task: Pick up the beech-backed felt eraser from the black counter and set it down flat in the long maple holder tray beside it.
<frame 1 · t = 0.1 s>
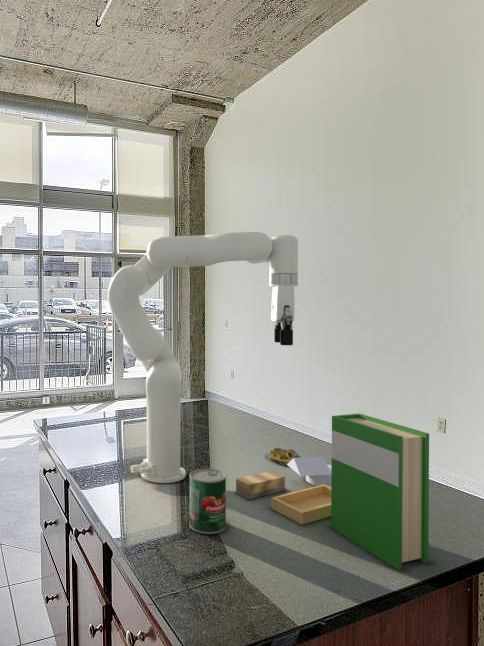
hand: (283, 343, 132), 37 cm above the countertop, tool pointing down, fingers open, 9 cm apart
canned tomato: (207, 526, 104), on the countertop
holder: (313, 508, 113), on the countertop
eraser: (260, 491, 123), on the countertop
wedge on round base: (316, 482, 131), on the countertop
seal: (284, 460, 149), on the countertop
hardback book: (376, 544, 97), on the countertop
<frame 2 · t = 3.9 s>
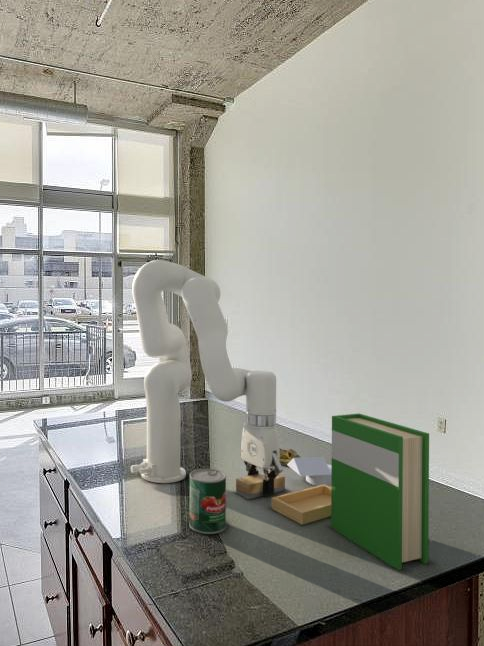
hand: (260, 489, 123), 0 cm above the countertop, tool pointing down, fingers closed on eraser, 5 cm apart
eraser: (260, 491, 123), on the countertop, touching gripper
everything else where it was.
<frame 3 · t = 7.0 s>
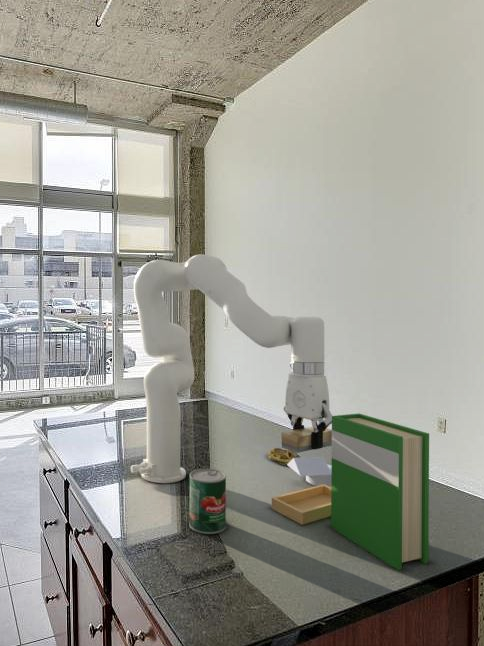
hand: (307, 444, 114), 15 cm above the countertop, tool pointing down, fingers closed on eraser, 5 cm apart
eraser: (307, 446, 114), point 14 cm above the countertop, touching gripper
everything else where it was.
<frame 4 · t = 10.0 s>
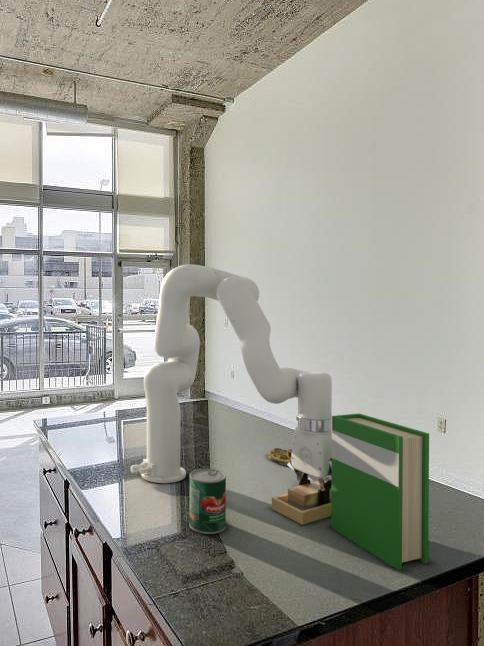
hand: (314, 500, 113), 2 cm above the countertop, tool pointing down, fingers closed on eraser, 5 cm apart
eraser: (314, 502, 113), point 1 cm above the countertop, touching gripper
everything else where it was.
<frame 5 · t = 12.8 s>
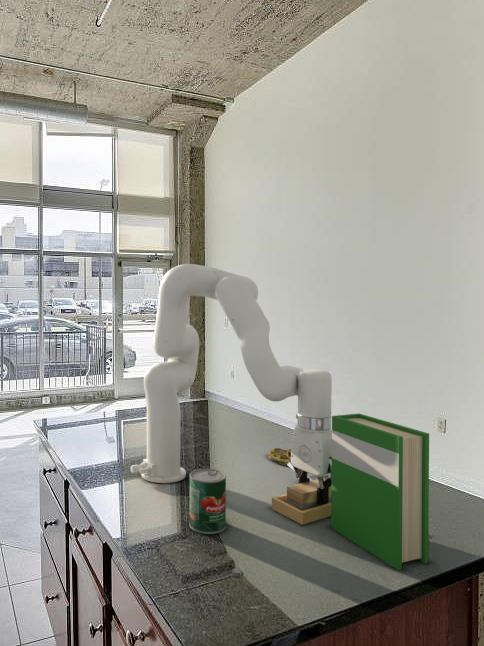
hand: (313, 498, 113), 2 cm above the countertop, tool pointing down, fingers closed on eraser, 5 cm apart
eraser: (313, 500, 113), point 2 cm above the countertop, touching gripper
everything else where it was.
when the fingers open (2 cm above the countertop, at t = 15.2 s): eraser drops 1 cm, resting on holder.
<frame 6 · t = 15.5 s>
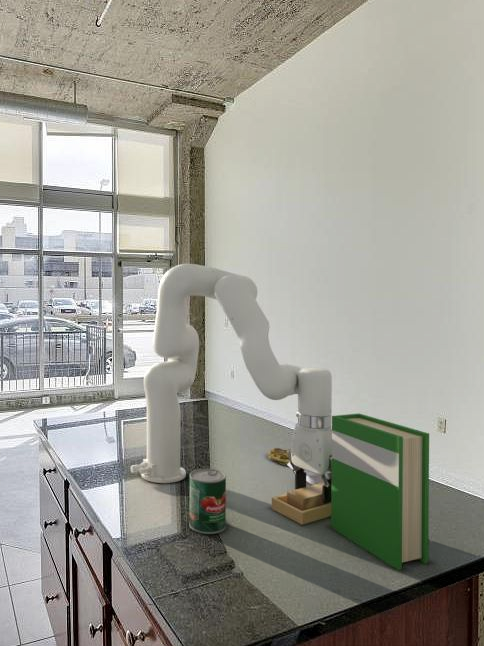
hand: (313, 495, 113), 3 cm above the countertop, tool pointing down, fingers open, 7 cm apart
eraser: (313, 505, 113), point 1 cm above the countertop, touching holder
everything else where it was.
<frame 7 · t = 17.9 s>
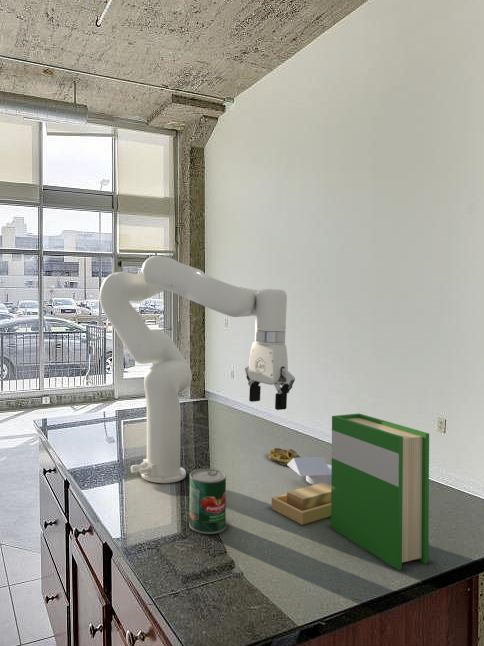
hand: (267, 405, 122), 22 cm above the countertop, tool pointing down, fingers open, 9 cm apart
nothing on the countertop moved.
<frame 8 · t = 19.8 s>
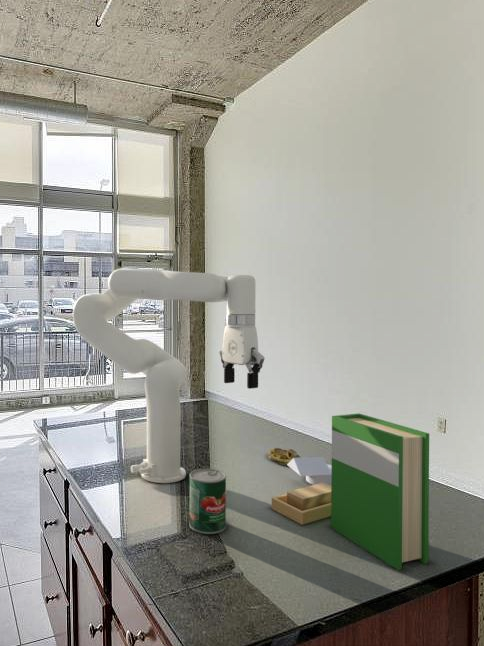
hand: (240, 385, 129), 26 cm above the countertop, tool pointing down, fingers open, 9 cm apart
nothing on the countertop moved.
at the end: eraser 0.1 cm off-centre in the holder, point 0.6 cm above the holder's base; eraser tilted 0°; the gripper is holding nothing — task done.
